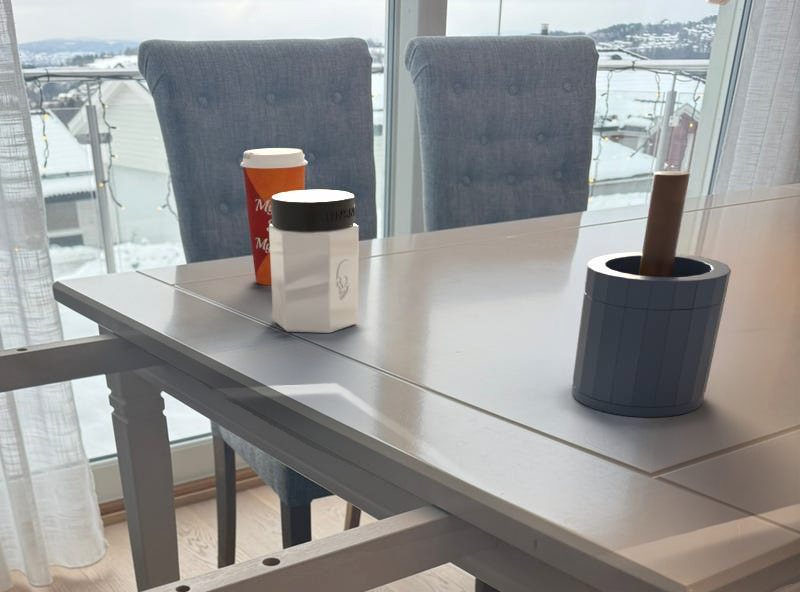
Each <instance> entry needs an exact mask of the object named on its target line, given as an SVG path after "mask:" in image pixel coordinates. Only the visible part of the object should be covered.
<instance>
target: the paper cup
mask: <svg viewBox="0 0 800 592" xmlns="http://www.w3.org/2000/svg"><path fill="white" fill-rule="evenodd" d="M305 156H306V154H304V152H303V150H302V149H301V148H293V147H292V148H291V147H290V148H289V147H275V148H274V147H273V148H270V147H269V148H257V149H255V148H254V149H248V150H246V151H244V152H243V153H242V161H241V162H240V165H239V166H240V167H242V169H243V178H244V187H245V196H246V197H245V198H246V208H247V209H246V210H247V216H248V227H249V228H248V229H249V236H250V243H251V252H252V260H253V269H254V275H255V281H256V283H257V284H259V285H263V286H271V287H272V283H271V262H270V240H269V225H270V224H272V211H271V198H272V196H274V195H276V194H279V193H284V192H291V191H301V190H305V180H306V179H305V178H306V177H305V174H306V165H308V163H309V161H307V160H306V159H305Z"/></svg>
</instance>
